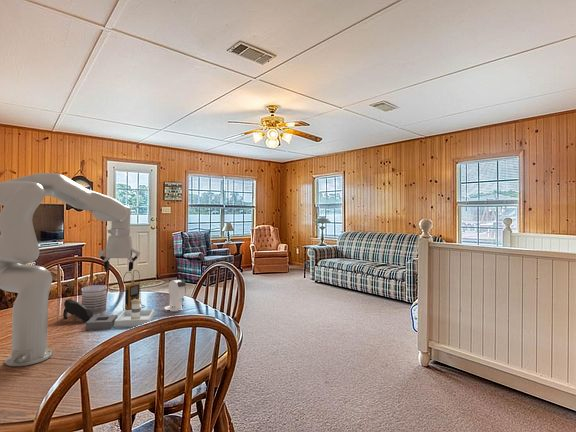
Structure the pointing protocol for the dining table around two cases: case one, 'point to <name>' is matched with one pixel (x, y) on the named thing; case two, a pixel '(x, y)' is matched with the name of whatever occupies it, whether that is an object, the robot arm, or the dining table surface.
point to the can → (94, 298)
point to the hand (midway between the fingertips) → (118, 270)
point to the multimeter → (132, 292)
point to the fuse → (135, 309)
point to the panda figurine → (176, 294)
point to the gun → (76, 310)
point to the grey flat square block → (101, 322)
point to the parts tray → (126, 321)
